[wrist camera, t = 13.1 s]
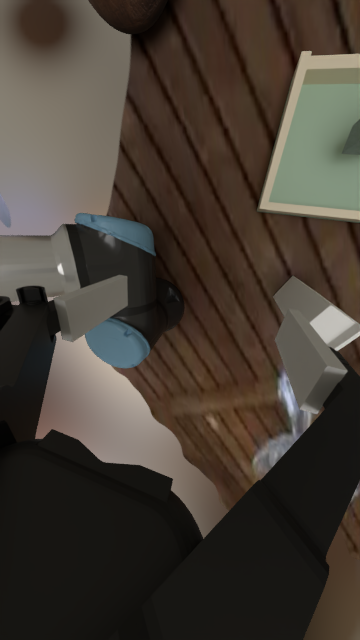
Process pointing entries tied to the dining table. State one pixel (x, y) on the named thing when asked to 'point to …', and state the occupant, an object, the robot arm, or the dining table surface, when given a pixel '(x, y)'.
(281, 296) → the milk
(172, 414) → the dining table surface
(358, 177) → the pitch
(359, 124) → the kicker rod
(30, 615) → the robot arm
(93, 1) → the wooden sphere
